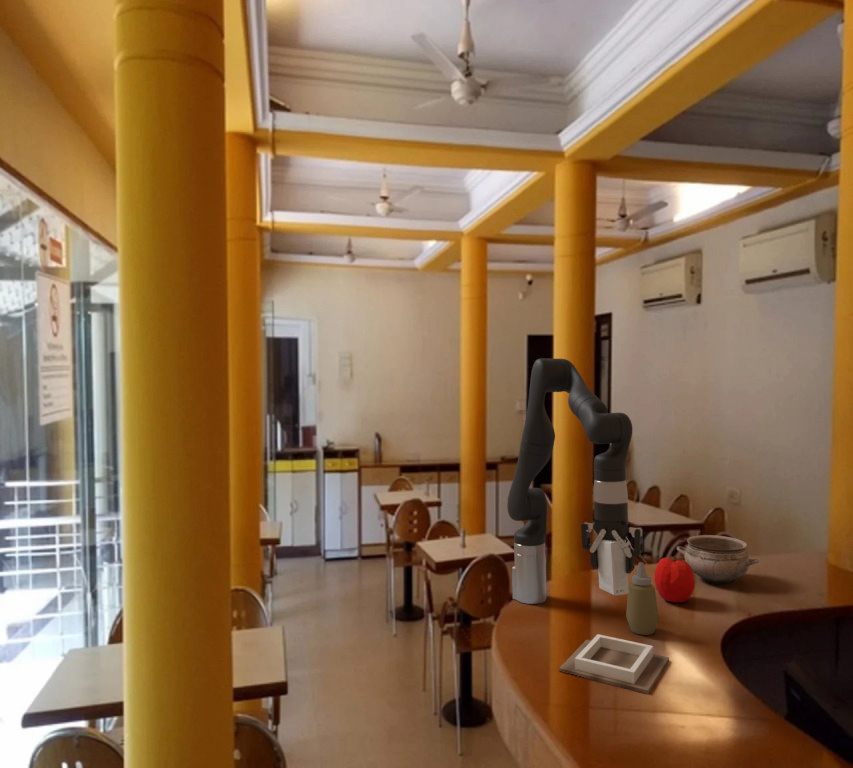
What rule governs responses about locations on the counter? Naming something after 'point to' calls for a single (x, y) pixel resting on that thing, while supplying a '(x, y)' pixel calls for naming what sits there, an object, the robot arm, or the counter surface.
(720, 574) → the cooking pot
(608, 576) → the skincare box
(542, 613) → the counter surface
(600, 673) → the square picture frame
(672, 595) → the tomato
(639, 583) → the squeeze bottle
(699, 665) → the counter surface
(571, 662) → the board
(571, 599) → the counter surface
